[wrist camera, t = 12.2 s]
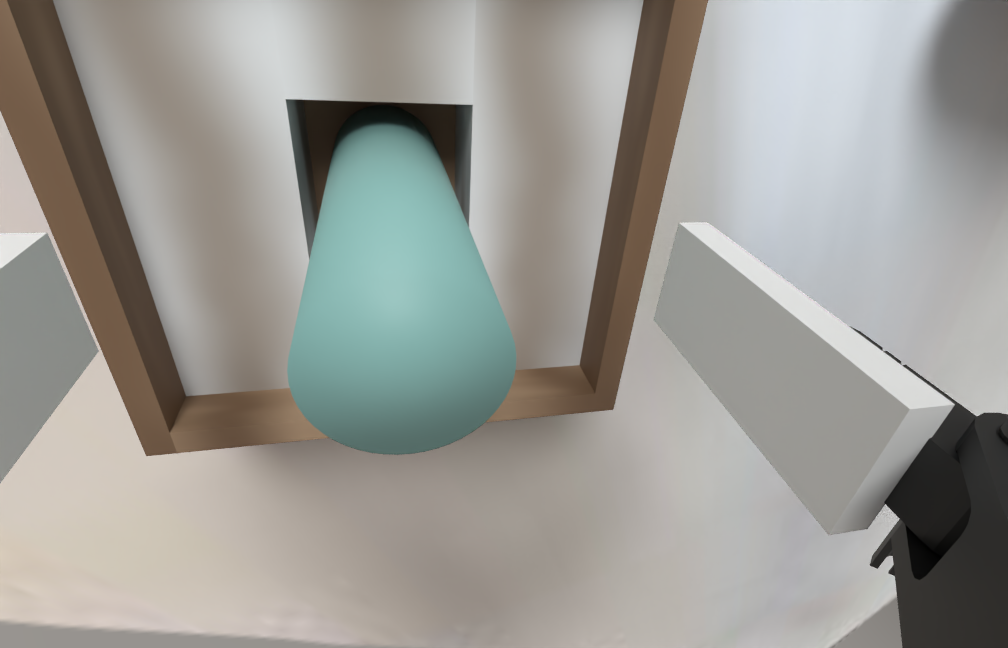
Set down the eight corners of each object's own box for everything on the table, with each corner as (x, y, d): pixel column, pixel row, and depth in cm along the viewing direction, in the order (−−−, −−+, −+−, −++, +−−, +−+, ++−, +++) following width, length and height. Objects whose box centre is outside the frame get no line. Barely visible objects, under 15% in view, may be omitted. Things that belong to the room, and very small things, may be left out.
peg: (436, 106, 20) (525, 269, 9) (436, 206, 22) (508, 443, 11) (328, 103, 19) (268, 279, 8) (339, 207, 21) (304, 465, 10)
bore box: (626, -101, 19) (740, -140, 13) (564, 323, 28) (613, 409, 23) (43, -172, 15) (-162, -271, 9) (199, 345, 24) (146, 456, 19)
